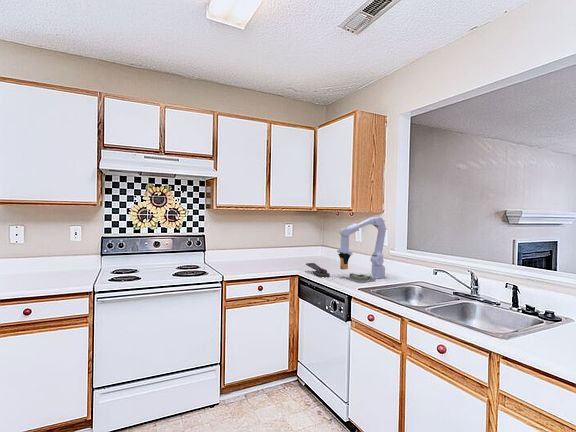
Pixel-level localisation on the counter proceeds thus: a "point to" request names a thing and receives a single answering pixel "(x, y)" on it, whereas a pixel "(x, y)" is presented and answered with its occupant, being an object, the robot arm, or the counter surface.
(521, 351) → the counter surface
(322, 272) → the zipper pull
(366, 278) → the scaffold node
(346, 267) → the wooden rectangular peg
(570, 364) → the counter surface
